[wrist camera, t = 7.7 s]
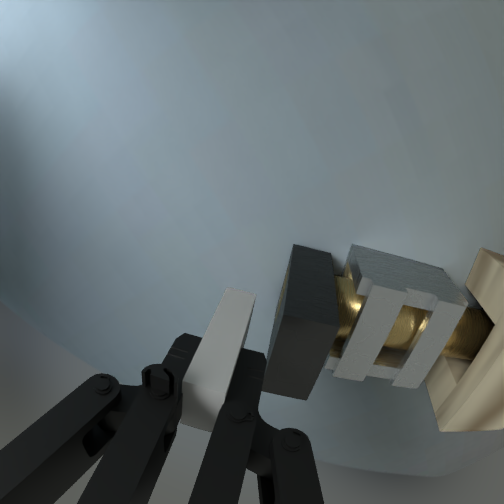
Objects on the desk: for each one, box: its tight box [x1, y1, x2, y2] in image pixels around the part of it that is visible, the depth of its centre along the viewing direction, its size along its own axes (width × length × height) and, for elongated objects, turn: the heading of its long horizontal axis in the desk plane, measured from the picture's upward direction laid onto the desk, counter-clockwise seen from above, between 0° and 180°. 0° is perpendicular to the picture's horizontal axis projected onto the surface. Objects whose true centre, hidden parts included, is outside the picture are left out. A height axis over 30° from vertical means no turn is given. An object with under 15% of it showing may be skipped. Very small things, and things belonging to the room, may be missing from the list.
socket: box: [424, 248, 504, 432], centre depth 16 cm, size 7×11×7 cm, turn 169°
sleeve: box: [324, 244, 468, 389], centre depth 18 cm, size 7×6×5 cm
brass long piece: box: [261, 244, 495, 400], centre depth 16 cm, size 18×5×8 cm, turn 79°
